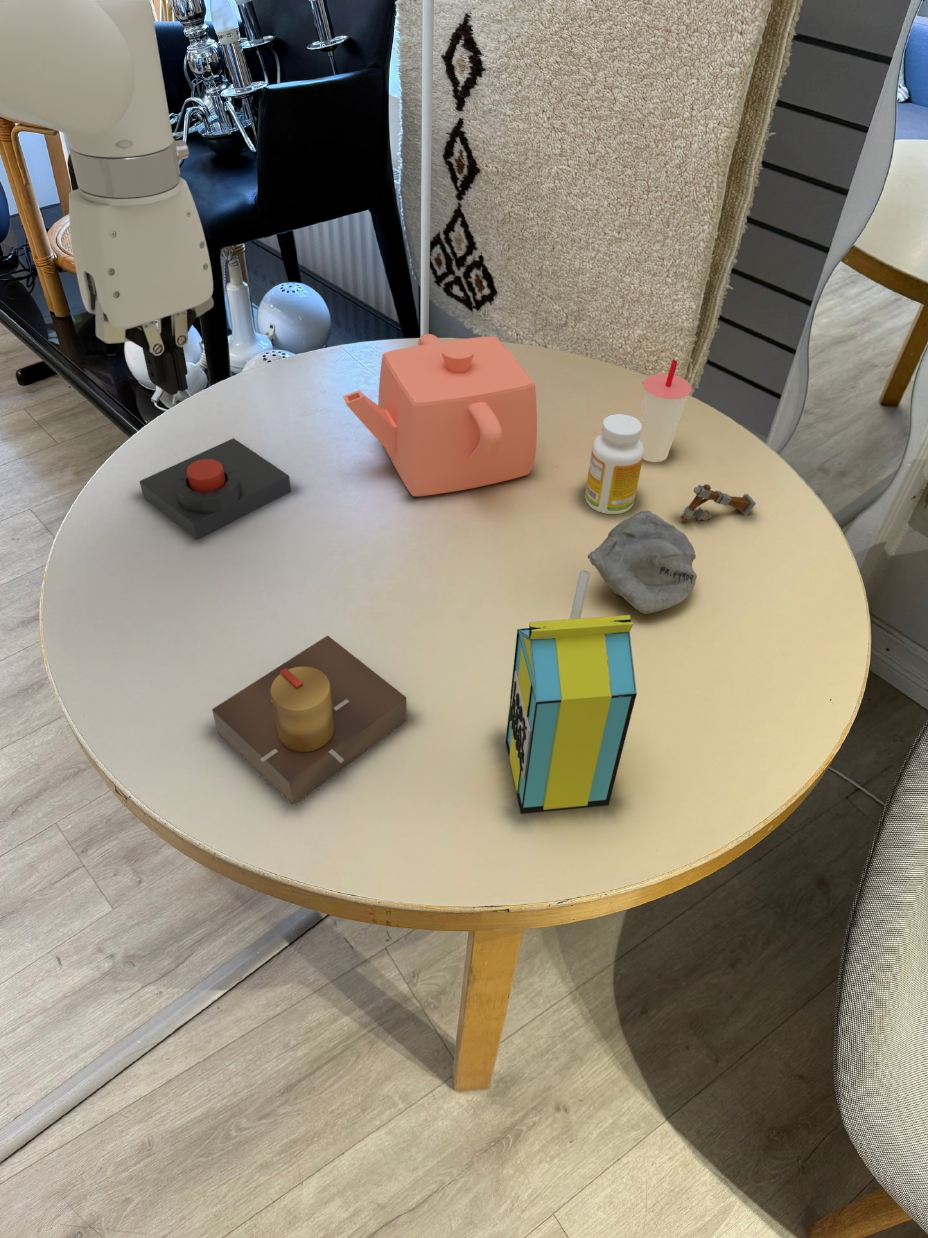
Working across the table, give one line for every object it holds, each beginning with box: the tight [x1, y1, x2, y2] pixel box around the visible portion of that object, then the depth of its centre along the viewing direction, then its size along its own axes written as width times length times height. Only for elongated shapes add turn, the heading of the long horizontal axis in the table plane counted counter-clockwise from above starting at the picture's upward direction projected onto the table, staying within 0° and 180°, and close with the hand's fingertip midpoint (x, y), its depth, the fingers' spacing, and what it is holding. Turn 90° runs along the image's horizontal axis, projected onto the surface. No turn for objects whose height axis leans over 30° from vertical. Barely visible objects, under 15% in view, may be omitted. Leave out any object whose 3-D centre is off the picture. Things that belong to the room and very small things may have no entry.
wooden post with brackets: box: [680, 483, 757, 522], centre depth 96 cm, size 2×8×4 cm, turn 108°
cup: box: [639, 358, 692, 463], centre depth 102 cm, size 5×5×12 cm
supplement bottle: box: [584, 413, 644, 515], centre depth 96 cm, size 5×5×10 cm
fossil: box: [587, 510, 698, 615], centre depth 86 cm, size 11×9×8 cm
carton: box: [505, 570, 638, 815], centre depth 66 cm, size 7×8×18 cm
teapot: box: [343, 333, 538, 497], centre depth 98 cm, size 20×22×14 cm
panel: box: [211, 635, 408, 805], centre depth 74 cm, size 12×11×3 cm
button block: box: [139, 437, 292, 541], centre depth 96 cm, size 12×10×4 cm
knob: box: [271, 667, 335, 752], centre depth 69 cm, size 4×4×5 cm
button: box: [187, 459, 225, 492], centre depth 92 cm, size 4×4×2 cm
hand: (170, 386), depth 81 cm, fingers closed
